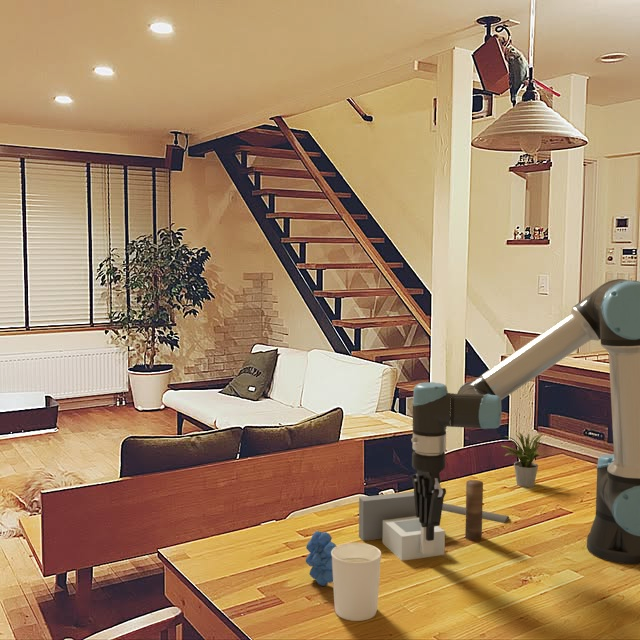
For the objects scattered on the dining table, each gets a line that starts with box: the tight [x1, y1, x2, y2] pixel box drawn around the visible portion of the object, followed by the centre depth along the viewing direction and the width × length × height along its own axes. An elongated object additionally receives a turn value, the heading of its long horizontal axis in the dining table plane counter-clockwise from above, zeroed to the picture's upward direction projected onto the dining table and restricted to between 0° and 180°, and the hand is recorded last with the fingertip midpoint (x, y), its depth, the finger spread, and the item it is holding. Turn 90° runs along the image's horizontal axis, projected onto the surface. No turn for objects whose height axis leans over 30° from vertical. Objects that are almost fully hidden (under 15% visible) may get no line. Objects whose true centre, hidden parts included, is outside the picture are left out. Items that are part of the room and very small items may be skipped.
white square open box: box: [382, 516, 446, 562], centre depth 177 cm, size 11×11×6 cm
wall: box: [358, 491, 416, 542], centre depth 186 cm, size 3×20×10 cm, turn 107°
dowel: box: [464, 479, 484, 542], centre depth 183 cm, size 4×4×14 cm
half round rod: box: [442, 502, 510, 524], centre depth 201 cm, size 4×20×2 cm, turn 57°
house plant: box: [500, 431, 546, 488], centre depth 227 cm, size 14×14×16 cm
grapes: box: [305, 530, 337, 587], centre depth 157 cm, size 12×7×12 cm, turn 30°
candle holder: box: [331, 542, 382, 622], centre depth 146 cm, size 10×10×12 cm
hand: (427, 552), depth 170 cm, fingers closed
